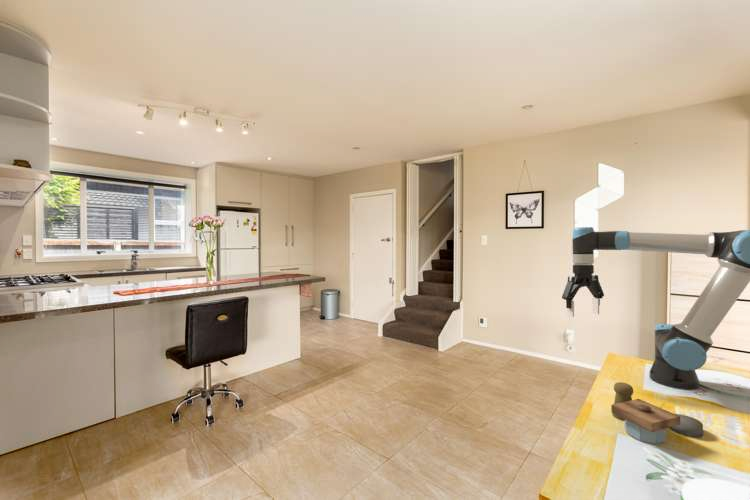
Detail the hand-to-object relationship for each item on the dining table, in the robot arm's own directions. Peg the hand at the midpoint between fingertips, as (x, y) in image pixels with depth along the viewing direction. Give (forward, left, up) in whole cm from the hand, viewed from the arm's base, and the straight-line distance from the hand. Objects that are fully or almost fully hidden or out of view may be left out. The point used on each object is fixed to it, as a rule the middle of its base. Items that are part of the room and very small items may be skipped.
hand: (583, 314), depth 143 cm
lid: (+20, +38, -22) cm, 48 cm away
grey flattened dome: (+6, +40, -27) cm, 48 cm away
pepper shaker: (+16, +28, -27) cm, 42 cm away
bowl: (+20, +38, -27) cm, 51 cm away
